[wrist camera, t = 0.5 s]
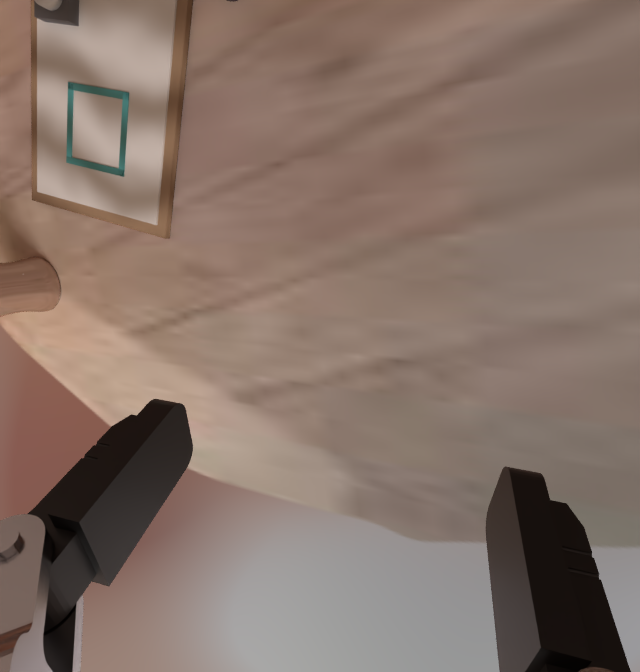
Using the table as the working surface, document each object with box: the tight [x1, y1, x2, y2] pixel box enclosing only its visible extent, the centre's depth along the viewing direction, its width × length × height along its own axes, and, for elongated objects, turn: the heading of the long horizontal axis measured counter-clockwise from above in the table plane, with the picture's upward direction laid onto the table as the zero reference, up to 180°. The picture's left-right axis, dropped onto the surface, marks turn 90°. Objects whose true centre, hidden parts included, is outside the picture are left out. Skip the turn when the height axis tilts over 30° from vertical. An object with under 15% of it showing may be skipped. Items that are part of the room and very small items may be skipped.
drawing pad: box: [31, 0, 193, 238], centre depth 37 cm, size 24×17×3 cm
